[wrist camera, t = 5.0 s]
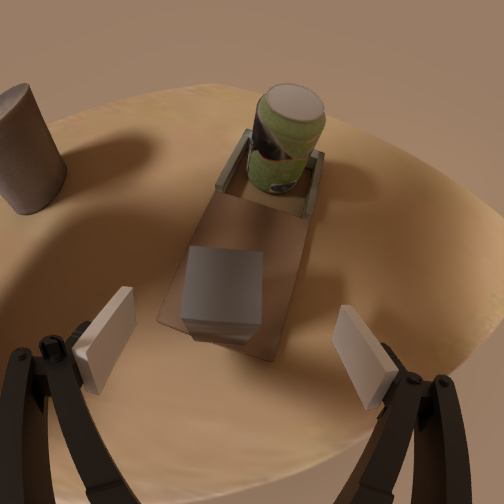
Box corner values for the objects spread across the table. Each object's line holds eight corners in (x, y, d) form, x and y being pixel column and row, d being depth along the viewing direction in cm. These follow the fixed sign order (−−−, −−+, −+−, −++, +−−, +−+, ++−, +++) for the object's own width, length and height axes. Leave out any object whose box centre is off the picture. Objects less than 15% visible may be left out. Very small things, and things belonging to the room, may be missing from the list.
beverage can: (290, 159, 32) (316, 76, 21) (305, 206, 29) (345, 119, 18) (240, 159, 31) (252, 70, 20) (248, 209, 28) (267, 112, 17)
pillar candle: (57, 149, 29) (22, 68, 16) (76, 182, 27) (30, 83, 14) (8, 190, 26) (-39, 117, 12) (19, 231, 23) (-47, 149, 10)
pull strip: (156, 327, 21) (119, 292, 13) (244, 140, 33) (253, 76, 24) (269, 366, 21) (304, 357, 13) (320, 164, 32) (345, 104, 24)
